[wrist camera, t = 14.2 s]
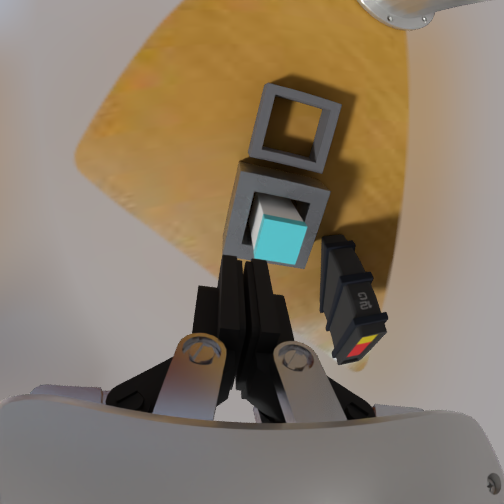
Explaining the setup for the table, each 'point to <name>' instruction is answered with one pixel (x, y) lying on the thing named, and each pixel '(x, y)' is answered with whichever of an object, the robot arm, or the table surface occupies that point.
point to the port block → (279, 184)
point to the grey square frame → (321, 138)
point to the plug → (276, 229)
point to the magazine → (348, 301)
